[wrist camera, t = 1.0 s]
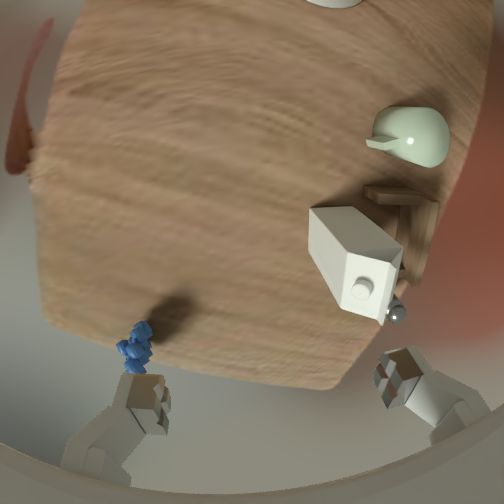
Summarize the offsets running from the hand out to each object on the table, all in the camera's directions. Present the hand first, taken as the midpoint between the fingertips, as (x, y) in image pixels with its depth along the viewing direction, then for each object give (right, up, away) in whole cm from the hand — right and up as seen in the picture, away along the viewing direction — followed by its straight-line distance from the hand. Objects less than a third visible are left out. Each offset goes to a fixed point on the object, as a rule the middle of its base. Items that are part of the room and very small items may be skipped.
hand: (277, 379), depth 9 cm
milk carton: (+11, +8, +33) cm, 36 cm away
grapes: (-22, -9, +39) cm, 46 cm away
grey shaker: (+22, -2, +39) cm, 45 cm away
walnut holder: (+20, +9, +34) cm, 40 cm away
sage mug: (+20, +23, +27) cm, 40 cm away
